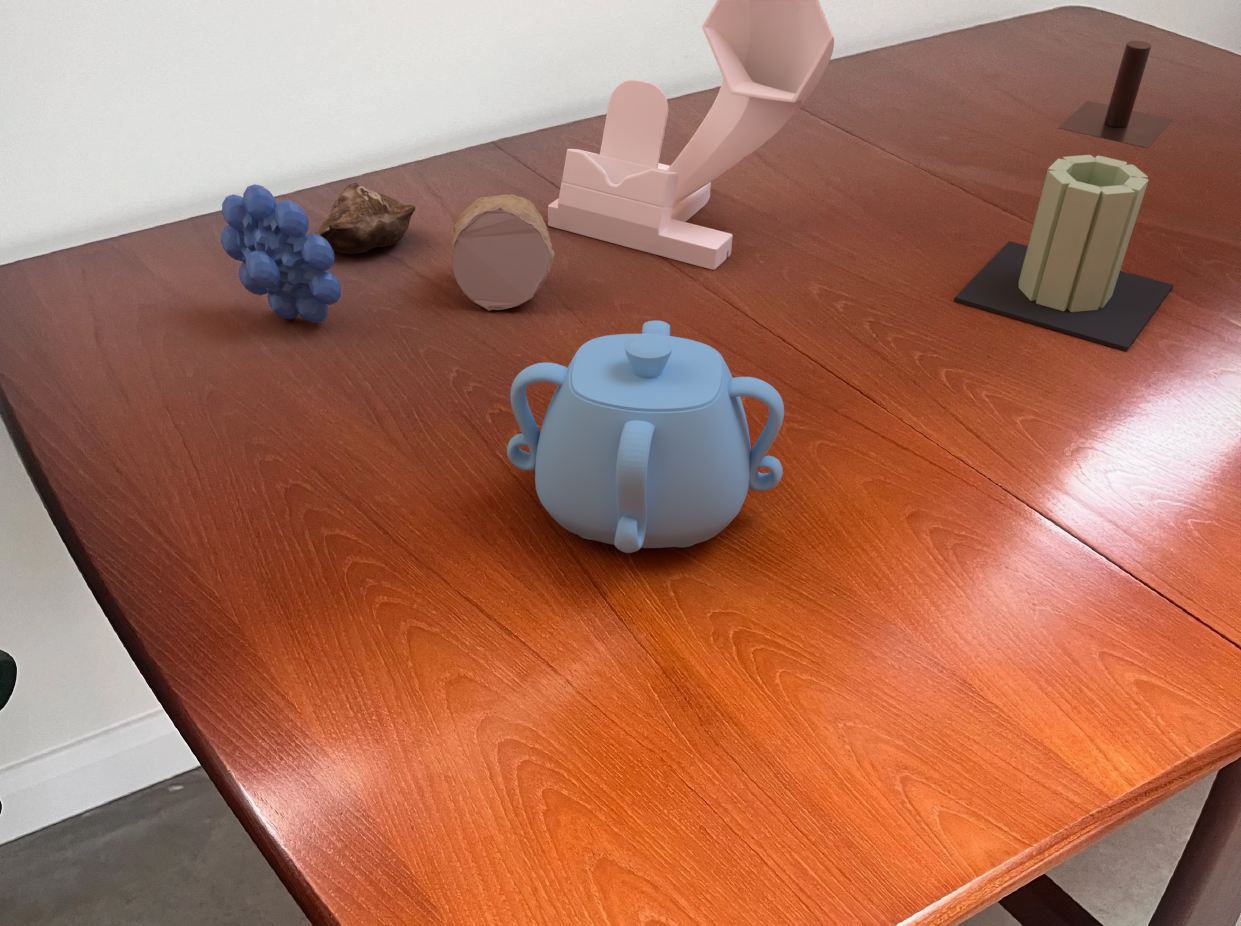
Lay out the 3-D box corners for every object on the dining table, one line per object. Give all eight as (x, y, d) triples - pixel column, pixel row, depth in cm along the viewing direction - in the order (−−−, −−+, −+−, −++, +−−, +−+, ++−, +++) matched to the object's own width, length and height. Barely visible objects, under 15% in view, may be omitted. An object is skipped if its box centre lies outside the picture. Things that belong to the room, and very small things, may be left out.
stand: (1169, 132, 147) (1198, 40, 140) (1143, 161, 141) (1172, 66, 134) (1083, 113, 151) (1107, 23, 144) (1054, 141, 145) (1078, 48, 138)
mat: (1172, 288, 120) (1173, 284, 120) (1126, 351, 111) (1128, 347, 111) (1008, 244, 126) (1009, 240, 126) (953, 301, 118) (954, 297, 118)
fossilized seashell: (319, 249, 120) (424, 252, 123) (315, 174, 118) (422, 179, 122) (308, 258, 127) (408, 261, 130) (304, 188, 125) (405, 192, 129)
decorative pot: (602, 605, 87) (606, 436, 78) (493, 483, 97) (485, 321, 88) (794, 531, 93) (819, 367, 84) (673, 424, 103) (683, 266, 94)
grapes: (207, 326, 114) (179, 195, 106) (251, 293, 119) (227, 165, 110) (318, 354, 111) (298, 221, 102) (359, 319, 115) (342, 189, 107)
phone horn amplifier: (547, 225, 129) (544, -48, 112) (622, 171, 139) (629, -88, 121) (774, 286, 120) (809, -1, 103) (837, 224, 130) (878, -49, 112)
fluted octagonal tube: (1120, 285, 119) (1158, 168, 112) (1093, 320, 115) (1130, 201, 107) (1037, 262, 123) (1068, 148, 115) (1007, 295, 118) (1037, 178, 110)
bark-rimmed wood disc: (430, 252, 110) (447, 163, 113) (455, 327, 119) (470, 242, 123) (539, 252, 108) (552, 161, 112) (556, 328, 117) (568, 241, 121)
